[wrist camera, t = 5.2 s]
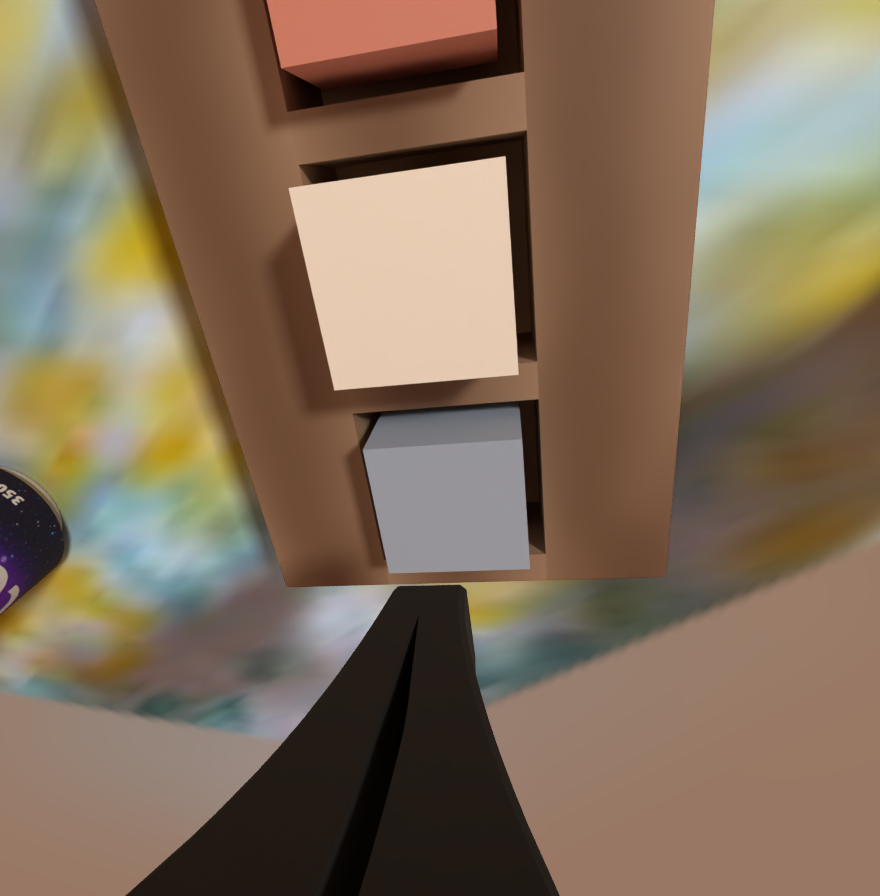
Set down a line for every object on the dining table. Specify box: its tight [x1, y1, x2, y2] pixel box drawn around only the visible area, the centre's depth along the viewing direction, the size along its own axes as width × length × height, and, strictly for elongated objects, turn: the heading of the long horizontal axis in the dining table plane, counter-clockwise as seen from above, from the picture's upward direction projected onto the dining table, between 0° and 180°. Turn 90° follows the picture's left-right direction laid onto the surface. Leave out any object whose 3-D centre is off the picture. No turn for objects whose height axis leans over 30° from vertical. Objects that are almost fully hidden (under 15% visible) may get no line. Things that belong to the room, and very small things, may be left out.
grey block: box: [363, 401, 530, 573], centre depth 15 cm, size 4×4×3 cm
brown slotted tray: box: [94, 0, 715, 587], centre depth 14 cm, size 12×19×4 cm, turn 7°
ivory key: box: [289, 156, 519, 390], centre depth 12 cm, size 4×4×3 cm
